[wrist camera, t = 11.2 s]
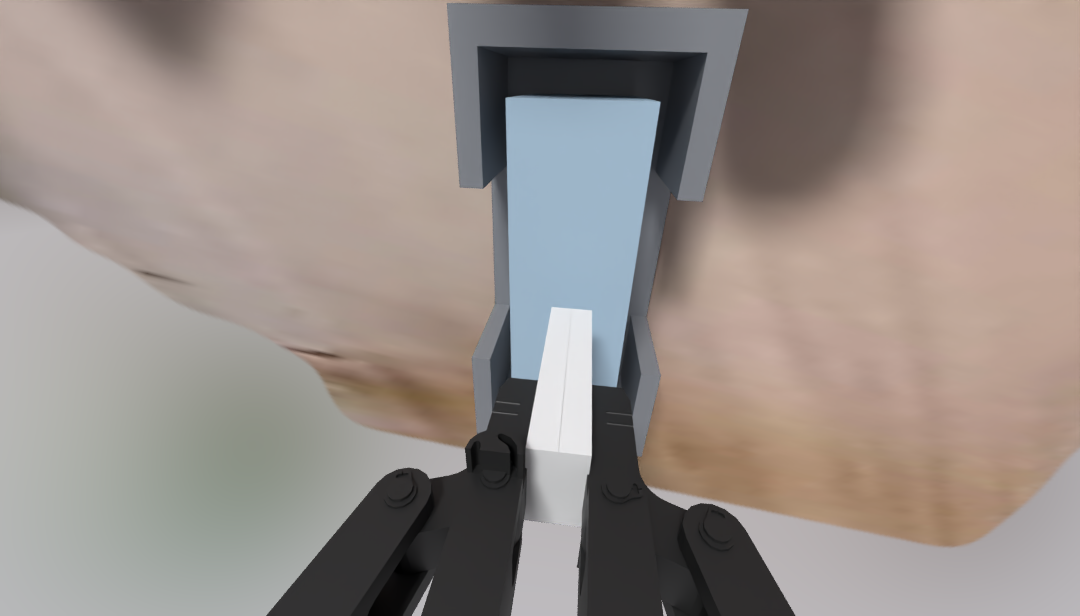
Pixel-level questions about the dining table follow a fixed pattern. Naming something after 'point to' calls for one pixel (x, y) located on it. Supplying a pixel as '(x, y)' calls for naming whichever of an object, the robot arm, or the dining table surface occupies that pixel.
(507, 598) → the robot arm
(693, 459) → the dining table surface
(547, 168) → the light blue block
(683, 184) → the endcap rail
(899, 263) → the dining table surface
